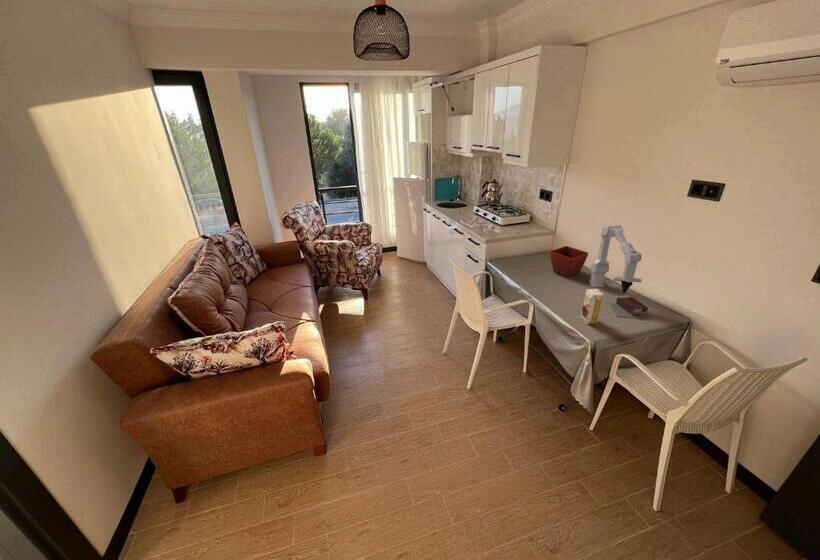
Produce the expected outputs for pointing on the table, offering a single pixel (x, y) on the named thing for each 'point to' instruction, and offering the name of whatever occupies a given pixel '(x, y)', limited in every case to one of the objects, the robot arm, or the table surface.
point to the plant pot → (567, 260)
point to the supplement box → (631, 305)
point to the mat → (622, 311)
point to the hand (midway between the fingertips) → (623, 291)
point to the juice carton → (592, 306)
